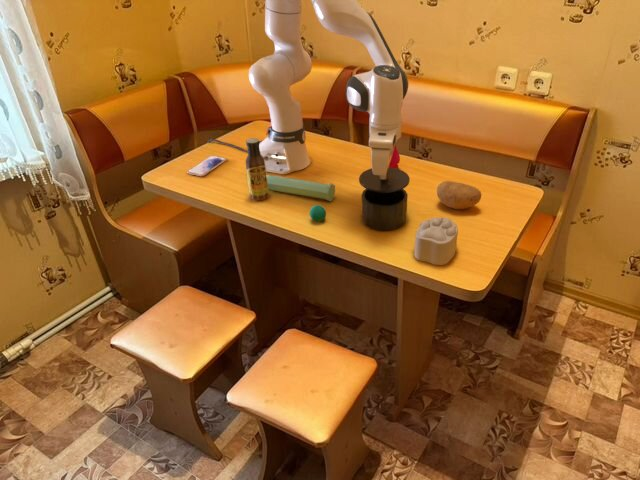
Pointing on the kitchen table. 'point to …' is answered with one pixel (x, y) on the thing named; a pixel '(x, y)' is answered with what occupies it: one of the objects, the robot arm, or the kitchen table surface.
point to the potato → (458, 195)
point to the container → (301, 187)
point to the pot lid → (384, 181)
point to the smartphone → (206, 166)
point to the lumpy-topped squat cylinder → (436, 241)
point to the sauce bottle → (256, 171)
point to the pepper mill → (395, 158)
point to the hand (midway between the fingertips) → (384, 175)
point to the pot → (384, 209)
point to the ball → (317, 213)
